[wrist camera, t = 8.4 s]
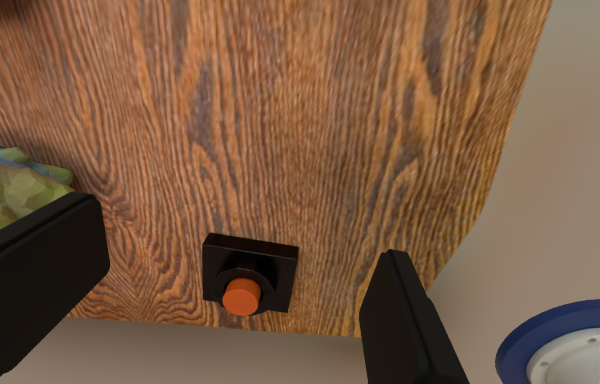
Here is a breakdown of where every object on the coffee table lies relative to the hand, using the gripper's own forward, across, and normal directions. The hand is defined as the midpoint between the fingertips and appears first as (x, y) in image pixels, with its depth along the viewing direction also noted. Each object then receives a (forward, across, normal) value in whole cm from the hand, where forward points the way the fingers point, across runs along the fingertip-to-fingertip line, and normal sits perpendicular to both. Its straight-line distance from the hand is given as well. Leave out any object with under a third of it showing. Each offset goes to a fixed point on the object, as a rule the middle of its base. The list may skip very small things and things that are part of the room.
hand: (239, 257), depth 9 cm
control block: (+18, +2, +17) cm, 25 cm away
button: (+14, +2, +17) cm, 22 cm away
